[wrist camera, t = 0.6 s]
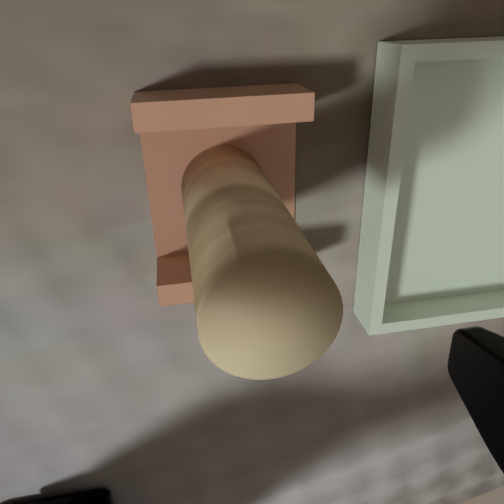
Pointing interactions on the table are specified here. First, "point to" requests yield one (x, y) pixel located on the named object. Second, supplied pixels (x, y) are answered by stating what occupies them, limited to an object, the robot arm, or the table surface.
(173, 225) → the cradle
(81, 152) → the table surface
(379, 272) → the tray
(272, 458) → the table surface
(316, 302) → the dowel
